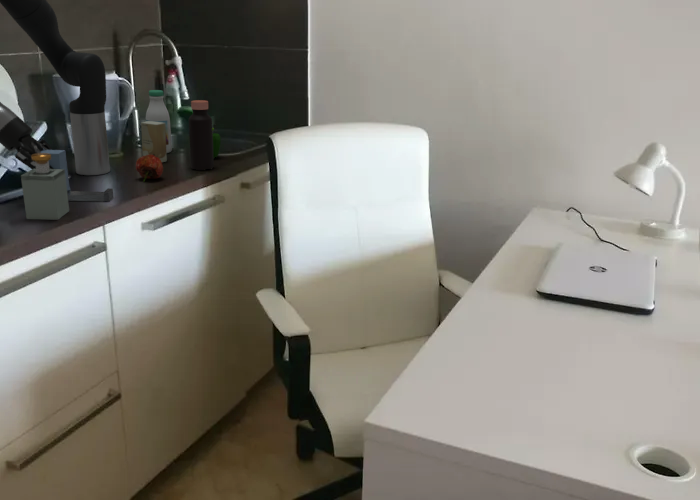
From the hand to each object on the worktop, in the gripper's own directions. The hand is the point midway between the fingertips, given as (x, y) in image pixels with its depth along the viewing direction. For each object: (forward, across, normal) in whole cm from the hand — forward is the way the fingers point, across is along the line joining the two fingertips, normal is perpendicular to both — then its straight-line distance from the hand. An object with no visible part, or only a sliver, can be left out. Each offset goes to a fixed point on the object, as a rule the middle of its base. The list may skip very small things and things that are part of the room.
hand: (62, 176), depth 168 cm
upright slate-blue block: (+3, 0, +5) cm, 6 cm away
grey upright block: (+5, -14, +3) cm, 15 cm away
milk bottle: (+11, +60, -3) cm, 61 cm away
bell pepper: (+23, +52, -15) cm, 59 cm away
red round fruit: (+15, +22, -7) cm, 28 cm away
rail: (+5, 0, +3) cm, 6 cm away
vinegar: (+24, +37, -16) cm, 47 cm away
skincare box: (+13, +45, -4) cm, 47 cm away
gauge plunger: (0, -14, -2) cm, 14 cm away
